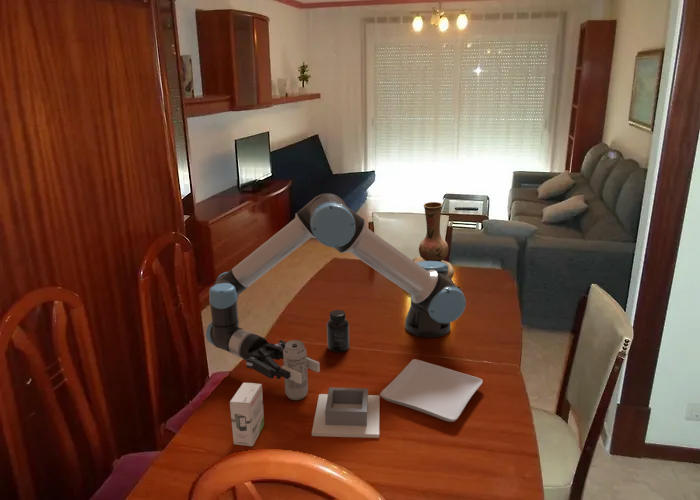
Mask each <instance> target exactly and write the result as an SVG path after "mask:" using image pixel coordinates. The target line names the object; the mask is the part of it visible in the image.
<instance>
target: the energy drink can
mask: <svg viewBox="0 0 700 500" xmlns="http://www.w3.org/2000/svg"><path fill="white" fill-rule="evenodd" d="M307 357H308V355H307V347H306V346H305V344H304V342H303V341H302V340H298V339H293V340H292V339H291V340H289V341H286V344H285V348H284V350H283V359H282V360H283V365H284V366H286V367H289V368H291V369H293V370H295V371H298V372H300V373H302V383H301V384H299V383H297V382H295V381H293V380H290V379H286V378H284V391H285V392H284V393H285V395H286V397H288V399H290V400H292V401H299V400H303V399H304V398H305V397H306V396H307V394H308V392H309V384H308V383H309V381H308V368H307Z"/></svg>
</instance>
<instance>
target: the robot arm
mask: <svg viewBox="0 0 700 500" xmlns="http://www.w3.org/2000/svg"><path fill="white" fill-rule="evenodd" d="M294 215H295V216H294V218H293V219H292V220H291V221H290V222H289V223H287V224H286V225H285V226H284V227H282V228H281V229H280V230H278V231H277V232H276V233H275V234H273V235H272V236H271V237H270V238H269V239H267V240H266V241H265V242H264V243H262V244H261V245H260V246H259V247H257V248H255V250H254V251H252V252H251V253H250V254H248V255H247V256H246V257H244V259H242V261H240V262H238V264H236V265H235V266H234V267H233V268H231V269H230V270H228V271H225V272H223V273H220V274H219V275H218V276H217V278H216V280H215V282H214V285H213V286H211V287H210V288H209V289H208V292H209V293H208V294H209V297H208V301H209V306H210V313H211V322H210V323H209V324H208V325H207V329H206V332H205V338H206V340H207V342H208V343H209V344H211V345H212V346H215V348H218V349H221V350H223V351H224V352H225V351H226V352H228V353H230V354H232V355H235V356H237V357H238V358H241V359H243V360H245V364H246V368H247V369H251V370H254V371H256V372H257V373H260V374H261V375H263V376H265V377H267V378H269V379H270V380H271V379H272V380H273V379H274V378H275V376H276V379H277V380H280V379H281V378H284V379H285V378H286V379H290V380H293V381H295V382H297V383H299V384H301V383H302V373H300V372H298V371H295V370H293V369H291V368H289V367H286V366H284V364H283V365H279V364H278V362H276V361H280V360H283V350H284V348H285V344H286V343H287V341H285V340H283V339H280V340H278V343H273V342H272V343H271V342H269V341H268V340H267V339H266V338H265V337H263V336H260V335H258V334H255V333H254V332H251V331H249V330H246V329H244V328H241V327H240V326H239V325H240V322H239V310H238V303H239V302H238V301H239V295H240V294H242V293H243V292H244V291H245V290H247V289H248V288H249V287H251V285H253V284H254V283H256V281H258V280H260V278H262V277H263V276H264V275H266V274H267V273H268V272H269V271H271V270H272V269H273V268H274V267H276V266H277V265H278V264H279V263H281V262H282V261H283V260H284V259H286V258H287V257H288V256H289V255H291V254H293V252H295V251H296V250H297V249H298V248H300V247H301V246H302V245H303V244H305V243H306V242H308V241H309V240H310V239H316V240H317V241H318V242H319V243H320V244H321V245H324V246H325V247H329V248H333V249H335V250H336V251H338V252H339V253H341V254H345V253H350V254H351V255H353V256H354V257H356V258H357V259H358V260H360V261H362V262H363V263H364V264H365V265H367V266H369V267H371V268H372V269H373V270H375V271H376V272H378V273H379V274H381V275H382V276H383V277H385V278H386V279H388V280H389V281H391V283H394V284H395V285H397V286H398V287H399V288H400V289H402V290H403V291H405V292H406V293H408V294H410V307H409V309H408V311H407V314H406V318H405V322H404V328H405V330H406V331H407V332H408V333H409V334H412V335H413V336H416V337H421V338H426V339H427V338H428V339H429V338H430V339H431V338H432V339H433V338H440V337H444V336H445V335H448V333H450V331H451V323H453V322H455V321H456V320H457V319H459V318H460V317H461V316H462V315H463V313H464V312H465V309H466V304H467V301H466V297H465V295H464V292H463V291H462V289H461V288H458V287H457V286H458V285H457V284H456V283H453V281H452V280H453V279H452V278H451V279H452V280H451V279H450V278H449V277H448V271H449V270H448V265H447V264H446V263H443V262H438V261H422V262H418V263H416V262H414V261H413V259H411V258H410V257H408V256H407V255H405V254H404V252H403V253H402V252H401V251H400V250H399V249H397V248H396V247H395V246H394V245H392V244H390V243H389V242H388V241H386V240H385V239H384V238H382V237H381V236H379V235H378V234H377V233H375V232H373V231H372V230H371V229H369V228H368V227H367V224H366V220H365V218H363V217H362V216H361V215H359V214H357V213H356V212H355V211H353V210H352V209H351V208H349V207H348V206H347V205H346V203H345V201H344V200H343V199H342V198H341V197H340V196H338V195H336V194H333V193H321V194H319V195H317V196H315V197H314V198H313V199H311V200H310V201H309V202H307V203H306V204H305V205H304V206H303V207H302V208H301V209H299V210H298V211H296V213H295V214H294ZM275 360H276V361H275ZM320 365H321V364H320V361H318V360H315V359H313V358H312V357H310V356H307V370H311V371H314V372H316V373H320V372H321V369H320V368H321V366H320Z"/></svg>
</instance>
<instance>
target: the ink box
mask: <svg viewBox="0 0 700 500" xmlns="http://www.w3.org/2000/svg"><path fill="white" fill-rule="evenodd" d="M263 397H264V396H263V384H262V383H255V382H243V383H242V384H241V385H240V387H239V388H238V389H237V391H236V392H235V394H234V395H233V396H232V398H231V399H230V401H229V407H230V408H229V409H230V410H229V411H230V420H231V429H232V430H231V431H232V439H233V440H232V441H233V445H238V446H245V447H246V446H247V447H253V446H254V445H255V443H256V441H257V439H258V437H259V435H260V434H261V432H262V430H263V428H264V426H265V416H264V415H265V414H264V413H265V412H264V400H263Z"/></svg>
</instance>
